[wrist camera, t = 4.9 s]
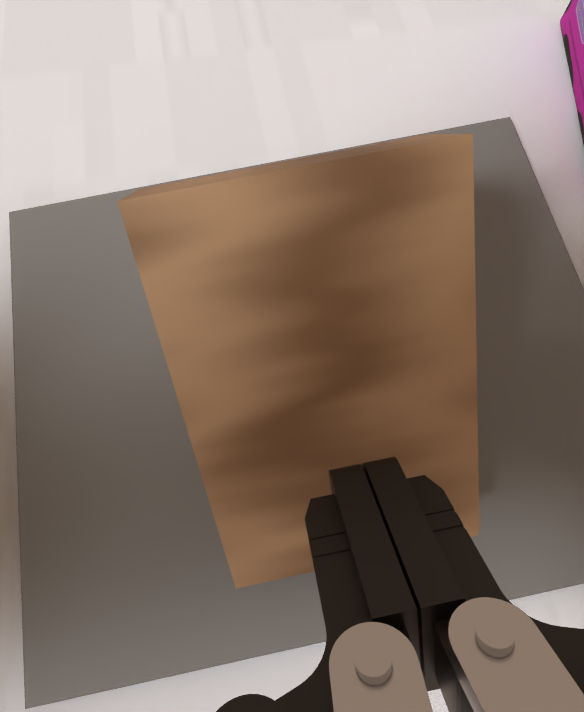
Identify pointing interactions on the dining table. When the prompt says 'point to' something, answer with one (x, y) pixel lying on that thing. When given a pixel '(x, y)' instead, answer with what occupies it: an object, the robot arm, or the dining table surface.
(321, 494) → the walnut sign block
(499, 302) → the rubber mat
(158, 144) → the dining table surface
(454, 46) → the dining table surface
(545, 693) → the robot arm
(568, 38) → the candy bar box
